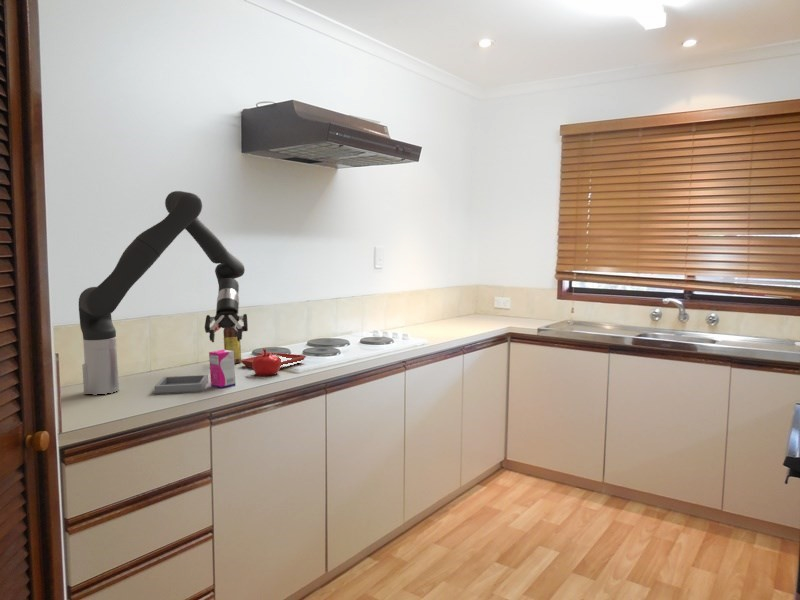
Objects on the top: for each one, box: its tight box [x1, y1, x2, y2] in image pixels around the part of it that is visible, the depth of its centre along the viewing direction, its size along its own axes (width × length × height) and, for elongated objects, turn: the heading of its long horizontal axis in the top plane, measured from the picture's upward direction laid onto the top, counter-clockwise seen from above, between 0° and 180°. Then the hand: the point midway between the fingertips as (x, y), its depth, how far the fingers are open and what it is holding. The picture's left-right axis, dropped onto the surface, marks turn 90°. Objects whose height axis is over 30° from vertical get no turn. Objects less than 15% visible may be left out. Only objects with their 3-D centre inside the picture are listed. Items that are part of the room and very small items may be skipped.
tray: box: [153, 374, 209, 395], centre depth 191 cm, size 14×14×2 cm
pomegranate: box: [251, 348, 281, 377], centre depth 210 cm, size 10×10×9 cm
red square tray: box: [240, 352, 307, 368], centre depth 228 cm, size 18×18×3 cm
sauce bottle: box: [223, 327, 242, 365], centre depth 232 cm, size 7×6×20 cm
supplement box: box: [208, 349, 236, 389], centre depth 193 cm, size 6×6×12 cm
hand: (225, 340), depth 202 cm, fingers open, 8 cm apart
